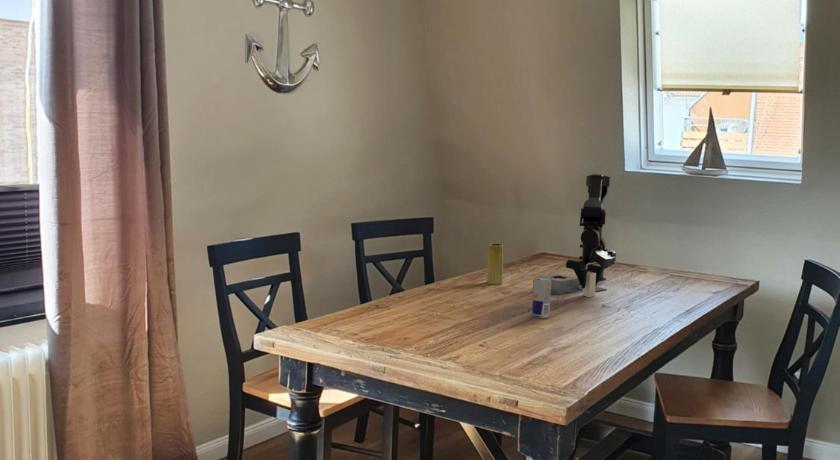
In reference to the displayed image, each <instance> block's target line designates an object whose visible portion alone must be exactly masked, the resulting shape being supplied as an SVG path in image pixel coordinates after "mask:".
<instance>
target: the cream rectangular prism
mask: <svg viewBox="0 0 840 460" xmlns="http://www.w3.org/2000/svg"><path fill="white" fill-rule="evenodd" d="M595 287H597V286H596V273H593V272H588V273H587V276H586V285H585V288H583V291H582V296H584V297H587V298H591V297H595V296H596V292H595Z"/></svg>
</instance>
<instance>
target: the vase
mask: <svg viewBox="0 0 840 460" xmlns="http://www.w3.org/2000/svg"><path fill="white" fill-rule="evenodd" d="M487 253H488V255H487V273H486V274H487V275H486V276H487V279H486V284H488V285H493V286H498V285H503V284H504V244H503V243H499V242H498V243H496V242H495V243H493V242H492V243H489V244H488V252H487Z"/></svg>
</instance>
